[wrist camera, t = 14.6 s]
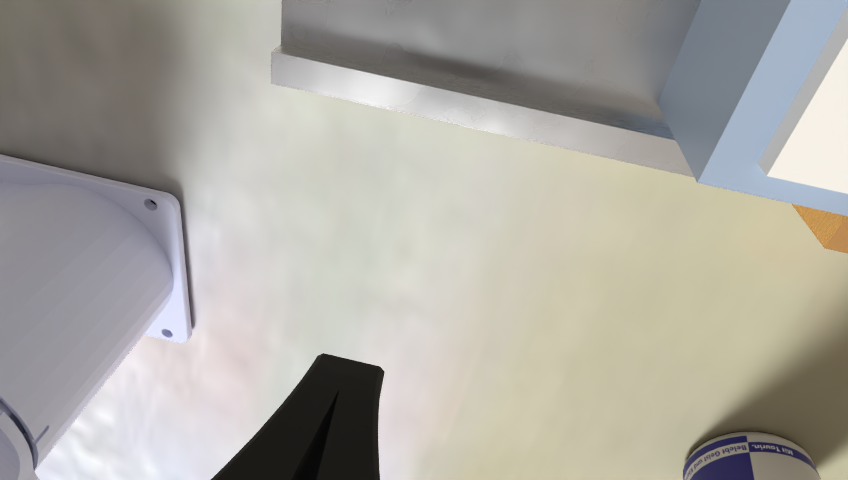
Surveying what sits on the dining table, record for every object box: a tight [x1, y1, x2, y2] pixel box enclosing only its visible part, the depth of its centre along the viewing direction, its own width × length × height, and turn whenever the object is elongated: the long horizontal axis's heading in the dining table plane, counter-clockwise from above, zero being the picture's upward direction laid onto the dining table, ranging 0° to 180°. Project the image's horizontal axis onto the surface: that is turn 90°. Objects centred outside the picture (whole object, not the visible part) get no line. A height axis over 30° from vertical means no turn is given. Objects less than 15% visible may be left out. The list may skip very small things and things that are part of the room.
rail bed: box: [271, 0, 848, 253], centre depth 15 cm, size 18×9×4 cm, turn 80°
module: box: [657, 0, 848, 216], centre depth 13 cm, size 4×6×6 cm
